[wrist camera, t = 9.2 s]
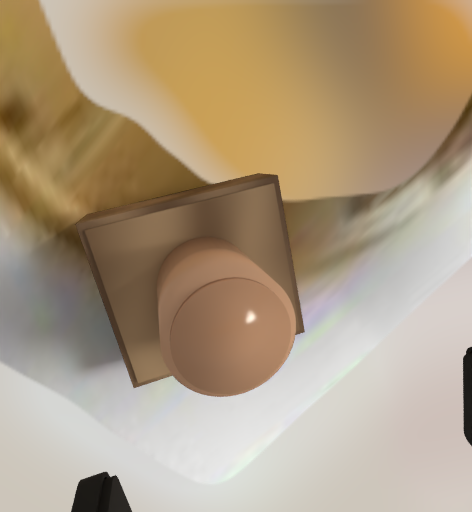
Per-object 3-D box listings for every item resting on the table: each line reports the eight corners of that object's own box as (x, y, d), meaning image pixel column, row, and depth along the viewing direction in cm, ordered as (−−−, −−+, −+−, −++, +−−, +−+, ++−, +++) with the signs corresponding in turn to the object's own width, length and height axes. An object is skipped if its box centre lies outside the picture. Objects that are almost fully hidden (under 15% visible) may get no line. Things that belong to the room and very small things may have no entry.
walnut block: (258, 173, 25) (279, 175, 21) (283, 309, 28) (306, 333, 24) (87, 214, 23) (74, 225, 19) (135, 356, 26) (133, 390, 22)
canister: (242, 226, 21) (287, 253, 14) (260, 313, 23) (308, 376, 16) (144, 251, 20) (141, 294, 13) (171, 341, 22) (181, 420, 15)
